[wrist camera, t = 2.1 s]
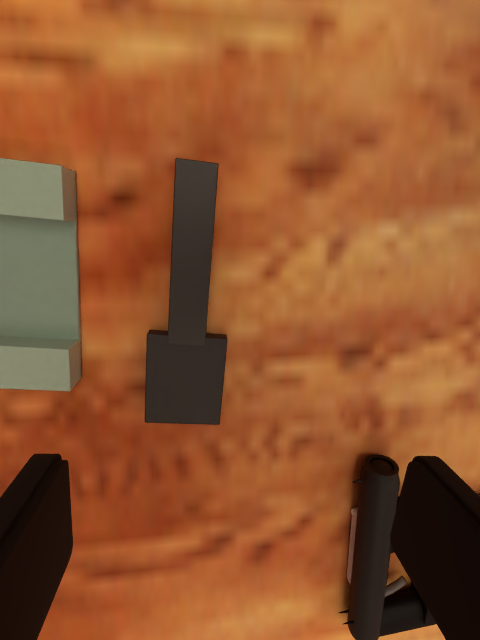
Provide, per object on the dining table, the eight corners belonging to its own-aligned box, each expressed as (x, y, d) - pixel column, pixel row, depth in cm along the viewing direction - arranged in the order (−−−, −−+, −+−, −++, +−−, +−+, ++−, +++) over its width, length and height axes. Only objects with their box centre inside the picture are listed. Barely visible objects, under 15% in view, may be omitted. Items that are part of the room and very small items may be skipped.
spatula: (153, 163, 21) (146, 154, 18) (241, 174, 21) (246, 166, 19) (146, 415, 26) (139, 437, 23) (219, 417, 26) (220, 439, 23)
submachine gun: (541, 454, 27) (361, 481, 25) (495, 624, 33) (344, 658, 31) (505, 431, 31) (341, 452, 28) (468, 589, 36) (329, 618, 34)
